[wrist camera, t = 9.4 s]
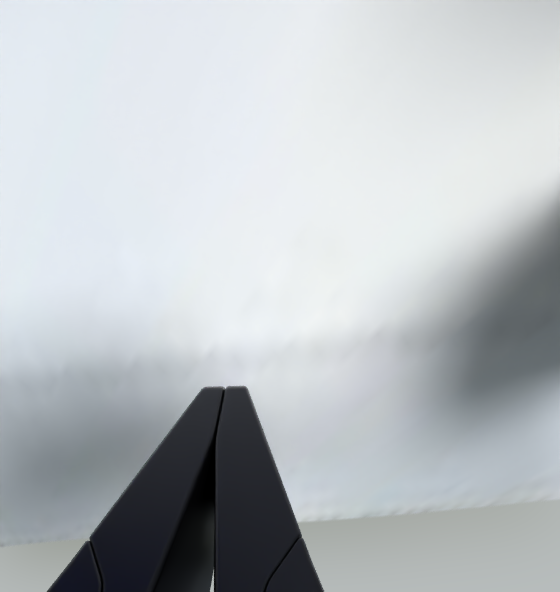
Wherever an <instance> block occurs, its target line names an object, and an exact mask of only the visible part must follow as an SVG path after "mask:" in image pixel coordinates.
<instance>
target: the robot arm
mask: <svg viewBox="0 0 560 592" xmlns="http://www.w3.org/2000/svg"><path fill="white" fill-rule="evenodd" d="M213 570H214V592H324V590H323V588H322V585H321V583H320V580H319V578H318V575H317V573H316V570H315V568H314V566H313V563H312V561H311V558H310V555H309V553H308V550H307V547H306V544H305V542H304V540H303V538H302V535H301V532H300V529H299V526H298V523H297V521H296V518H295V515H294V513H293V510H292V507H291V504H290V502H289V499H288V496H287V494H286V491H285V488H284V486H283V483H282V480H281V477H280V475H279V472H278V469H277V467H276V464H275V461H274V459H273V456H272V453H271V450H270V448H269V445H268V442H267V440H266V437H265V434H264V431H263V429H262V426H261V423H260V421H259V418H258V415H257V413H256V410H255V407H254V404H253V402H252V399H251V396H250V394H249V391H248V389H247V387H245V386H228V387H226V389H225V388H224V387H221V386H219V387H204V388H203V389H202V390H201V391H200V392H199V393H198V395H197V396H196V397H195V399H194V400H193V401H192V403H191V404H190V405H189V407H188V408H187V409H186V411H185V412H184V413H183V415H182V416H181V417H180V418H179V420H178V421H177V422H176V424H175V425H174V426H173V428H172V429H171V430H170V432H169V433H168V434H167V436H166V437H165V438H164V440H163V441H162V442H161V444H160V445H159V446H158V447H157V449H156V450H155V451H154V453H153V454H152V455H151V457H150V458H149V459H148V461H147V462H146V463H145V465H144V466H143V467H142V469H141V470H140V471H139V473H138V474H137V475H136V476H135V478H134V479H133V480H132V482H131V483H130V484H129V486H128V487H127V488H126V490H125V491H124V492H123V494H122V495H121V496H120V498H119V499H118V500H117V502H116V503H115V504H114V505H113V507H112V508H111V509H110V511H109V512H108V513H107V515H106V516H105V517H104V519H103V520H102V521H101V523H100V524H99V525H98V527H97V528H96V529H95V531H94V532H93V533H92V534H91V536H90V541H86V542H85V543H84V545H83V546H82V547H81V549H80V550H79V551H78V553H77V554H76V555H75V557H74V558H73V559H72V561H71V562H70V563H69V564H68V566H67V567H66V568H65V569H64V571H63V572H62V573H61V574H60V576H59V577H58V578H57V580H56V581H55V582H54V583H53V584H52V586H51V587H50V588H49V590H48V591H47V592H210V587H211V581H212V575H213Z"/></svg>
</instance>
